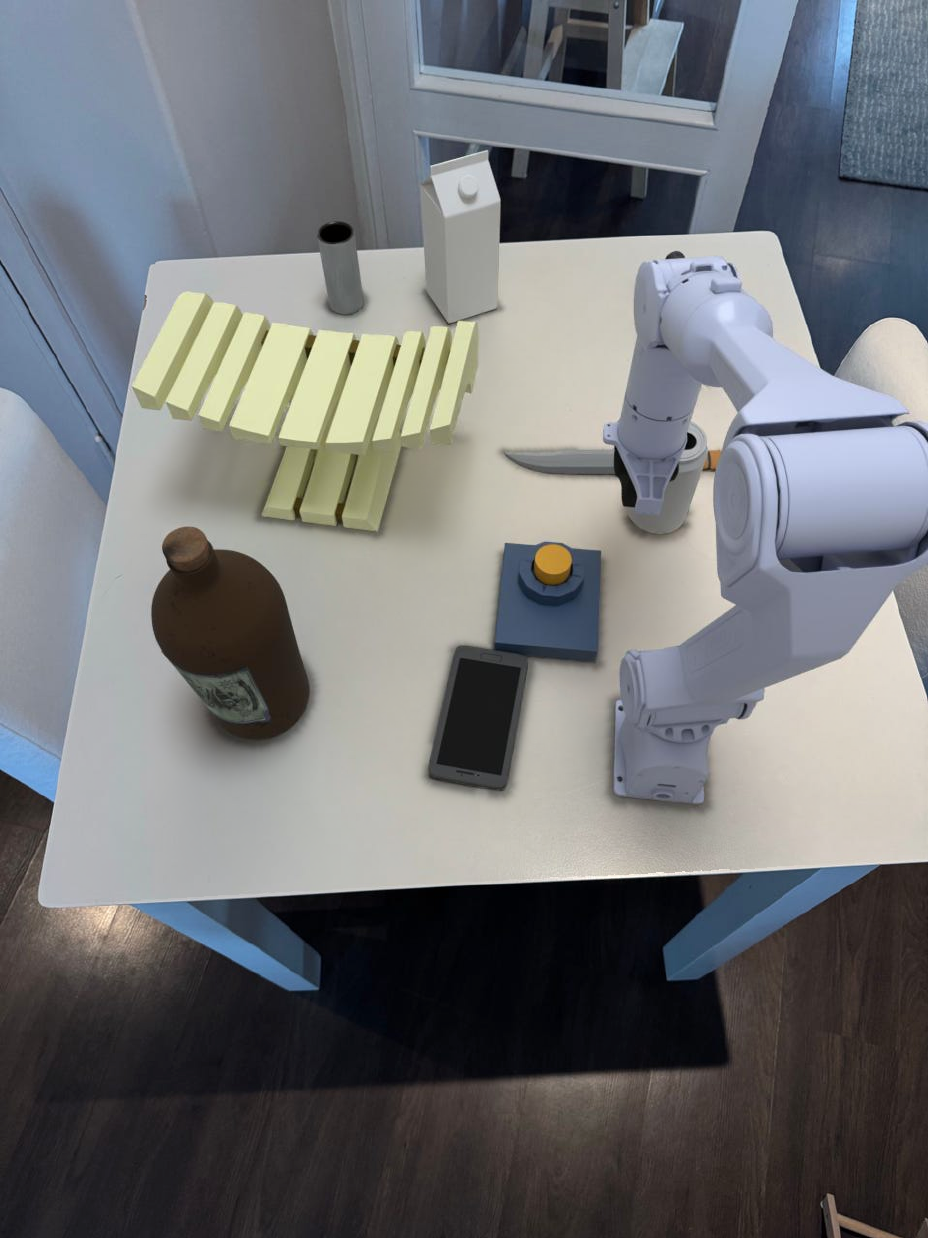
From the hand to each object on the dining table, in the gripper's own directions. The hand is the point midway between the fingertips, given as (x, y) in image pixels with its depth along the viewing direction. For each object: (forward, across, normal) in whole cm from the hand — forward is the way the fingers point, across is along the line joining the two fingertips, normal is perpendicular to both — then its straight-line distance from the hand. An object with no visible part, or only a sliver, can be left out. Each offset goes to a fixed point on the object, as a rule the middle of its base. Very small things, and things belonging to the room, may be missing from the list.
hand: (633, 501), depth 79 cm
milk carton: (+11, -40, -21) cm, 46 cm away
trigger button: (+7, +4, -7) cm, 11 cm away
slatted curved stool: (+11, -10, -32) cm, 35 cm away
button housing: (+10, +6, -7) cm, 14 cm away
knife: (+11, -14, +2) cm, 18 cm away
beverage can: (+11, -7, +4) cm, 13 cm away
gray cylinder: (+11, -38, -36) cm, 53 cm away
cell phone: (+10, +19, -13) cm, 25 cm away
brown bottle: (+11, +19, -34) cm, 40 cm away
